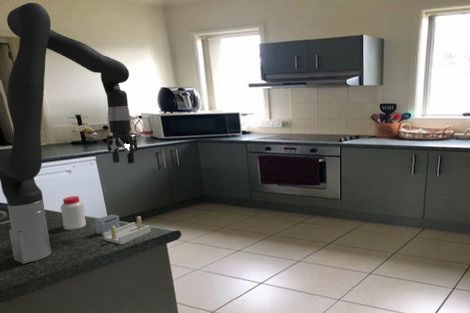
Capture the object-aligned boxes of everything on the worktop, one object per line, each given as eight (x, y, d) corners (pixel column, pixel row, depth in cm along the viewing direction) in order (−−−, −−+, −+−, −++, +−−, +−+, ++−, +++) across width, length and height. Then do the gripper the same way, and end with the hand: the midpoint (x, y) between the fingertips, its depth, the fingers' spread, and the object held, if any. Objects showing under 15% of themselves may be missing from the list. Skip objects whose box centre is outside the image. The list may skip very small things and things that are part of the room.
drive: (103, 235, 127) (101, 221, 126) (96, 233, 129) (94, 220, 128) (120, 229, 132) (118, 215, 132) (113, 227, 135) (111, 214, 134)
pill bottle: (89, 222, 143) (85, 195, 141) (79, 229, 135) (75, 200, 134) (71, 223, 144) (67, 195, 142) (59, 230, 136) (55, 201, 135)
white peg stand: (121, 244, 117) (119, 229, 116) (104, 239, 122) (102, 225, 121) (150, 231, 126) (149, 217, 126) (133, 228, 132) (132, 214, 131)
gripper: (98, 120, 136) (103, 163, 138) (123, 119, 128) (127, 165, 130) (115, 119, 142) (119, 161, 144) (140, 118, 134) (144, 162, 136)
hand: (123, 162), depth 137 cm, fingers open, 8 cm apart
